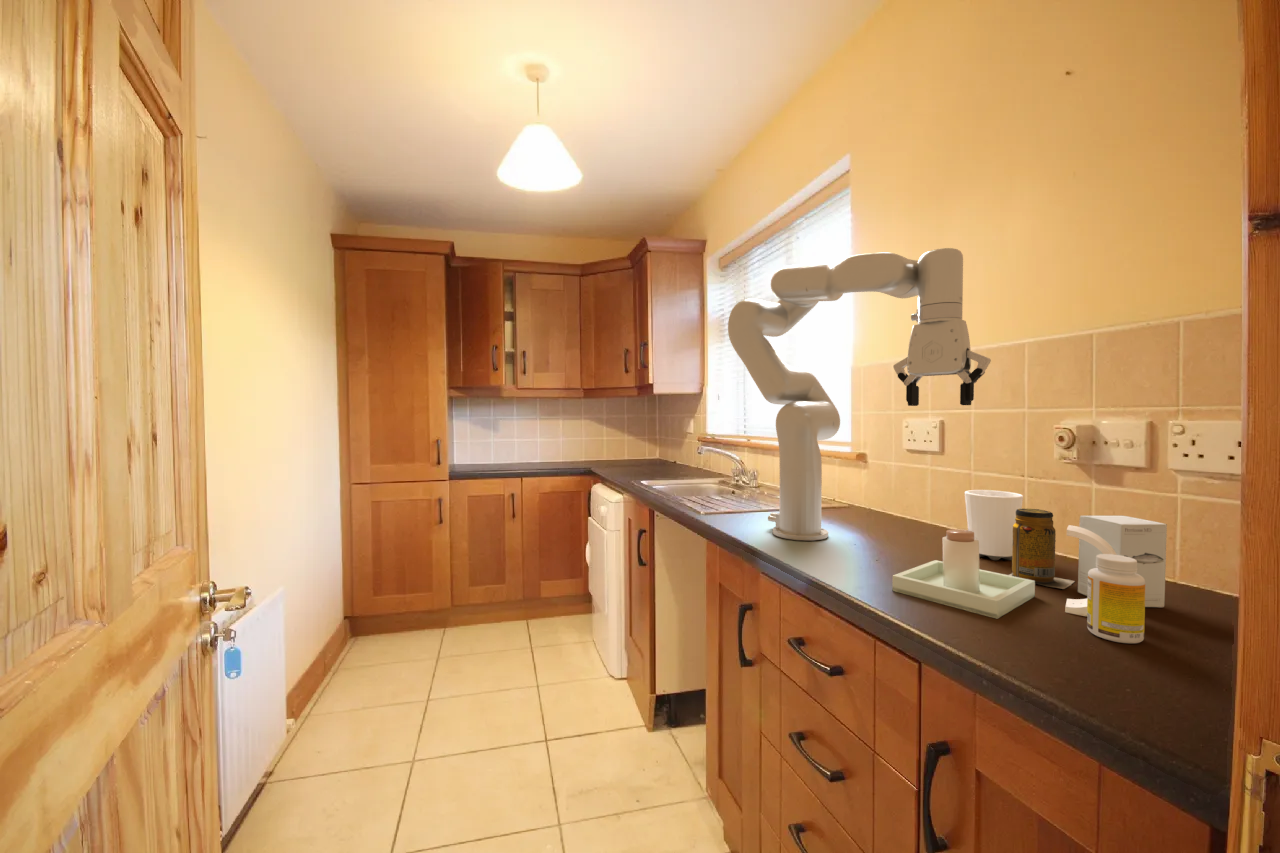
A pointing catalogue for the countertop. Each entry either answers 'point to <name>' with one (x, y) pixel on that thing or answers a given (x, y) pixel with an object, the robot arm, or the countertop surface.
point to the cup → (993, 520)
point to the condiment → (1035, 548)
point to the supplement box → (1128, 551)
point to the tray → (991, 600)
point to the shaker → (961, 561)
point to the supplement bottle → (1116, 599)
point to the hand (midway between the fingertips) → (938, 405)
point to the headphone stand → (1081, 604)
